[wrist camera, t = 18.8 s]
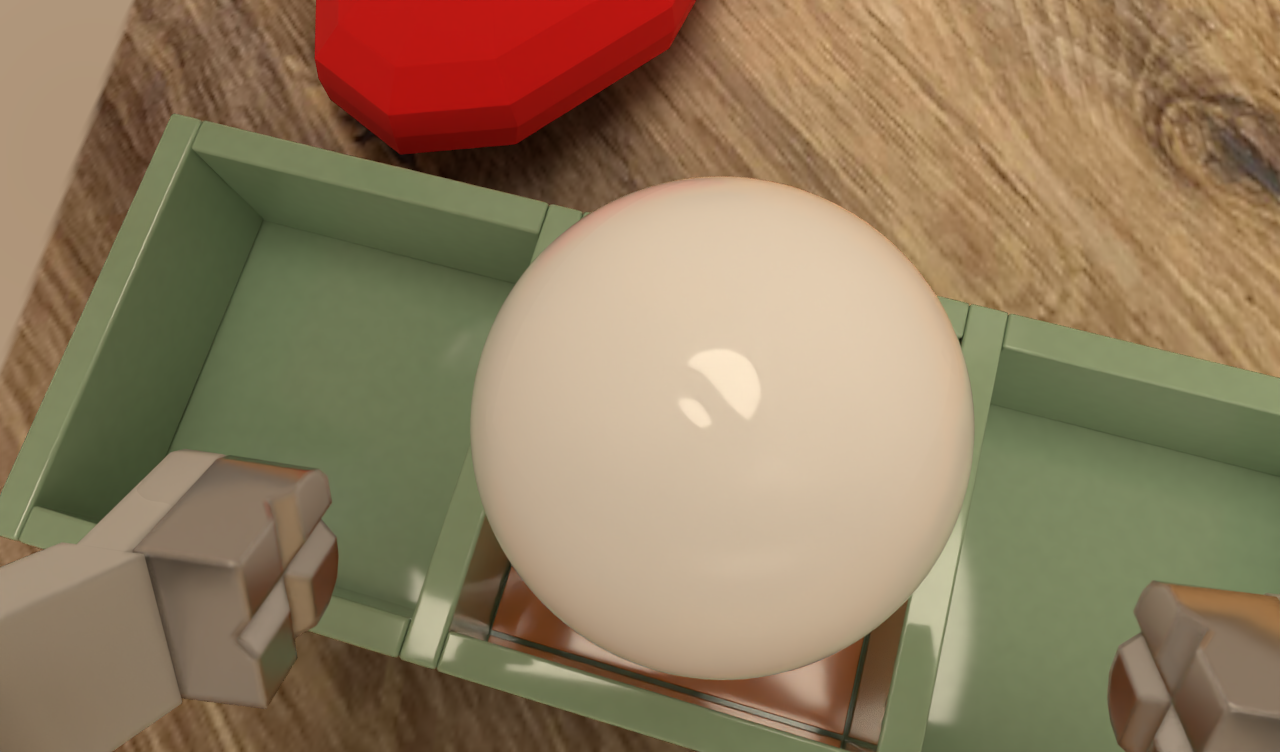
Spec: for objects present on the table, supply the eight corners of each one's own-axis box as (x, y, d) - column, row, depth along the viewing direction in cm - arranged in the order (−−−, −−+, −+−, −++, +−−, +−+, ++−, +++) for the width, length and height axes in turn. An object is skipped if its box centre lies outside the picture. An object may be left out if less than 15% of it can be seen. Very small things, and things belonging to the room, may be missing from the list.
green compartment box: (113, 551, 21) (-19, 531, 17) (259, 199, 23) (171, 111, 20) (1287, 909, 18) (1450, 984, 14) (1333, 467, 20) (1487, 426, 16)
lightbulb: (742, 732, 19) (804, 848, 8) (496, 536, 20) (277, 419, 10) (922, 475, 20) (1178, 290, 9) (678, 305, 21) (662, -28, 11)
